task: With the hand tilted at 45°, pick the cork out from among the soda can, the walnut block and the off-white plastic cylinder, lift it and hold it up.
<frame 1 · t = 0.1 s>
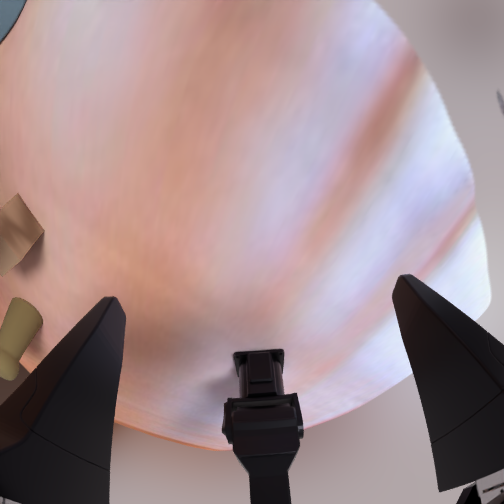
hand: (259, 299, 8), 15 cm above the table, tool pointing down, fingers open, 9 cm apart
cork: (27, 311, 30), on the table
walnut block: (20, 221, 22), on the table
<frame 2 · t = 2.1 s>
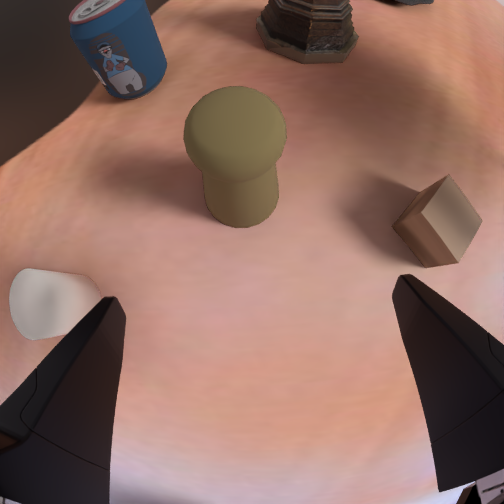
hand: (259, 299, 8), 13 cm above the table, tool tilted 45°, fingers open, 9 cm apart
soda can: (139, 81, 25), on the table
bird statue: (327, 39, 25), on the table
cork: (241, 192, 23), on the table
walnut block: (423, 229, 22), on the table
off-white cylinder: (79, 302, 22), on the table
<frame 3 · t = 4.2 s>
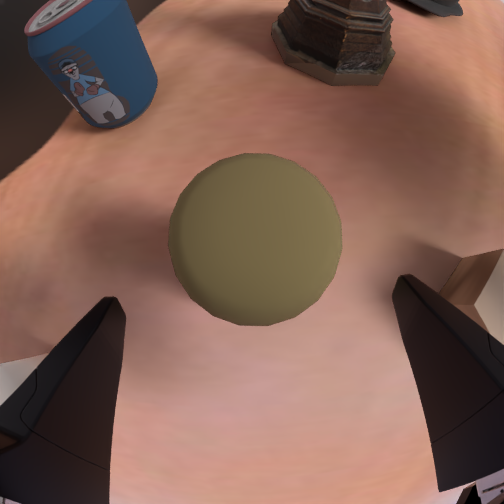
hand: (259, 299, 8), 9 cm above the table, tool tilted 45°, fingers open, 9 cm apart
soda can: (124, 103, 20), on the table
bird statue: (357, 54, 21), on the table
cork: (254, 267, 18), on the table
walnut block: (462, 302, 17), on the table
off-white cylinder: (64, 381, 16), on the table
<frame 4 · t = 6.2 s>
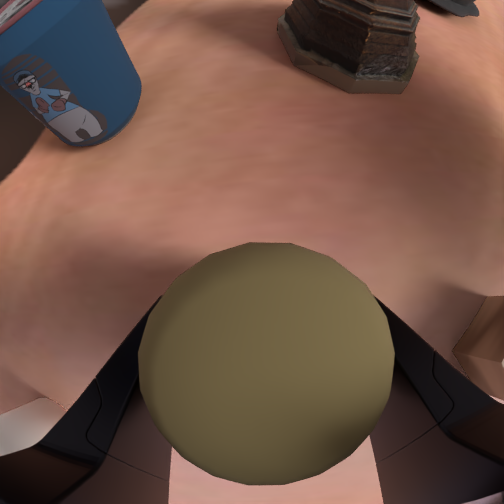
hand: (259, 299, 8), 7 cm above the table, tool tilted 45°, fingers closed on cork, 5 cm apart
soda can: (105, 114, 17), on the table
bird statue: (376, 55, 18), on the table
cork: (258, 321, 15), on the table, touching gripper
walnut block: (483, 344, 14), on the table
off-white cylinder: (55, 428, 13), on the table
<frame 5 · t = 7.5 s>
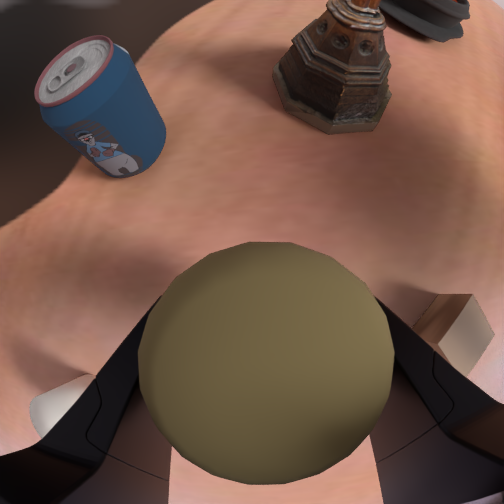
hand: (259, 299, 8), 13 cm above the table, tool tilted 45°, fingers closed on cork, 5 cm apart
soda can: (135, 149, 23), on the table
casserole: (413, 10, 27), on the table
bird statue: (355, 95, 24), on the table
cork: (258, 321, 15), point 6 cm above the table, touching gripper
walnut block: (435, 332, 21), on the table
off-white cylinder: (95, 399, 20), on the table
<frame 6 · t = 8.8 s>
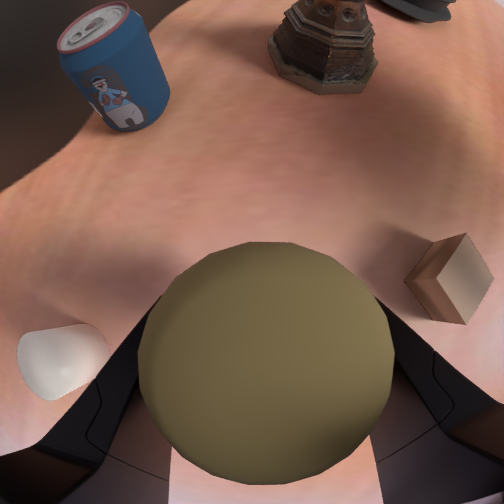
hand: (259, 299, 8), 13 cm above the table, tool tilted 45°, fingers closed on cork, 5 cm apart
soda can: (140, 109, 24), on the table
bird statue: (344, 64, 25), on the table
cork: (258, 321, 15), point 6 cm above the table, touching gripper
walnut block: (433, 281, 22), on the table
off-white cylinder: (87, 350, 21), on the table
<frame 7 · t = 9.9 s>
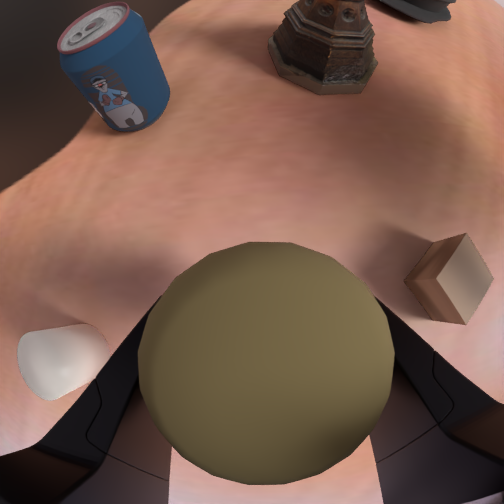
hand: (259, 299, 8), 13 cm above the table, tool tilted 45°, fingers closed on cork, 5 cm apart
soda can: (140, 109, 24), on the table
bird statue: (344, 64, 25), on the table
cork: (258, 321, 15), point 7 cm above the table, touching gripper
walnut block: (433, 281, 22), on the table
off-white cylinder: (87, 350, 21), on the table
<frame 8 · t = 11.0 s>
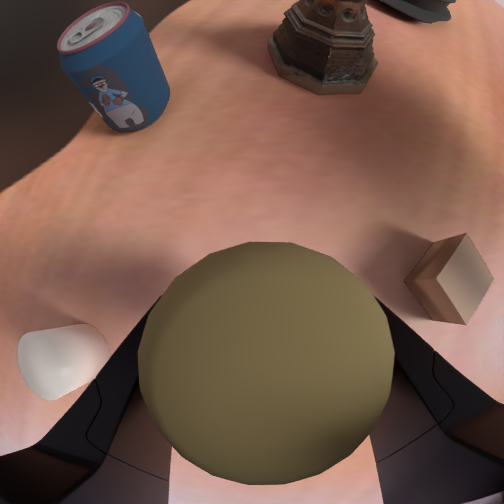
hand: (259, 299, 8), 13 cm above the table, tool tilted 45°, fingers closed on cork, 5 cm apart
soda can: (140, 109, 24), on the table
bird statue: (344, 64, 25), on the table
cork: (258, 321, 15), point 7 cm above the table, touching gripper
walnut block: (433, 281, 22), on the table
off-white cylinder: (87, 350, 21), on the table
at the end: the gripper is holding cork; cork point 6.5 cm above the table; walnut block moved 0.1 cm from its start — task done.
